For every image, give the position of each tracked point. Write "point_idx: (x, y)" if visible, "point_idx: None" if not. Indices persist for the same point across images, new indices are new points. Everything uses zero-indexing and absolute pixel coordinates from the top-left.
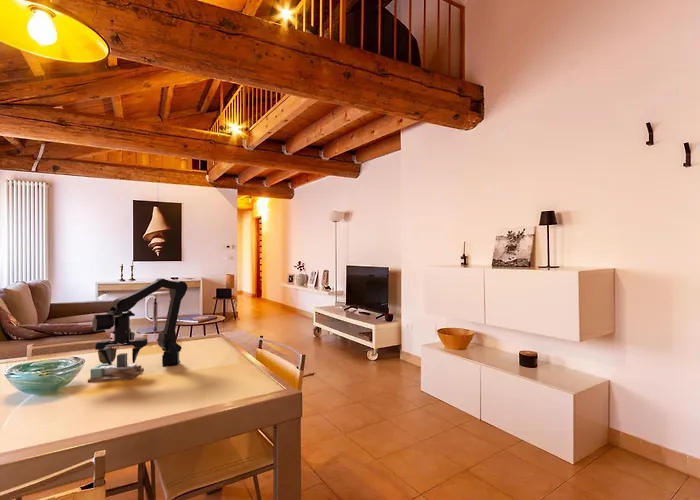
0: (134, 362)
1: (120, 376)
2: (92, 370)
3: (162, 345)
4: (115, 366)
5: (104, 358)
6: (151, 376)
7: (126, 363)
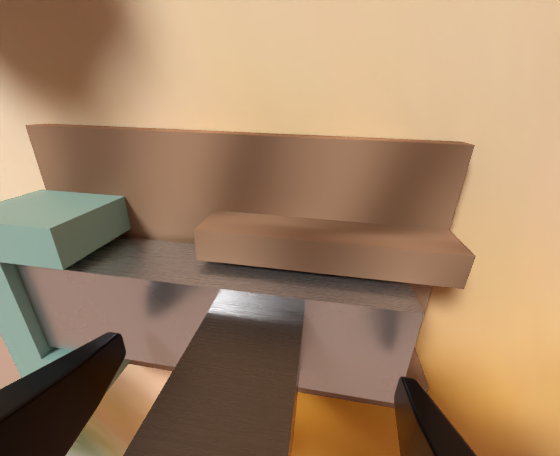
0: (414, 389)
1: None
2: None
3: None
4: (190, 334)
5: None
6: (540, 378)
7: (300, 351)
